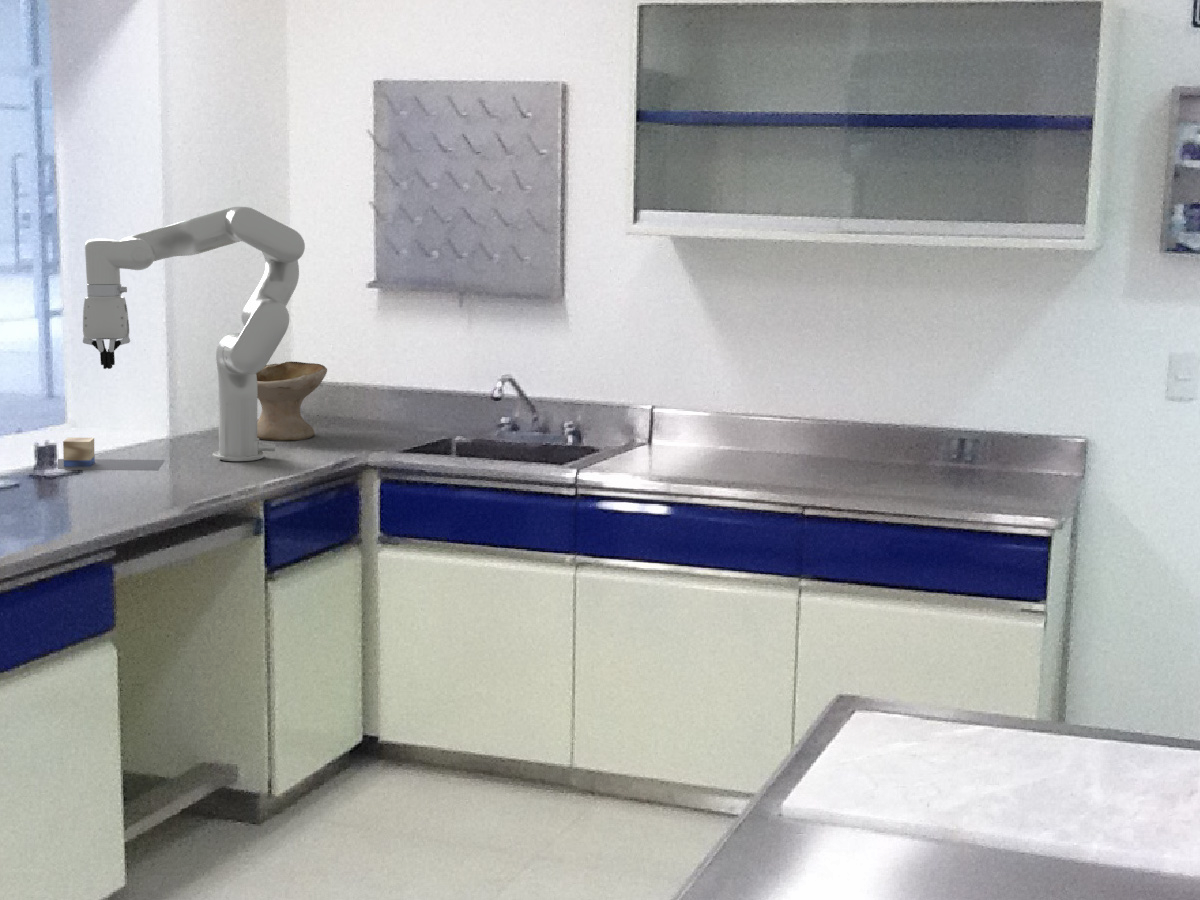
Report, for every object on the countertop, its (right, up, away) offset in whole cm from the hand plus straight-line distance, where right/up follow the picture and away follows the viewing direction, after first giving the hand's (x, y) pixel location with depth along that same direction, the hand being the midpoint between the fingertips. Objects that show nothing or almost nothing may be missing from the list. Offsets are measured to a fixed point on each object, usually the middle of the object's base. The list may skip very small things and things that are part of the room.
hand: (108, 368), depth 333 cm
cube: (-6, -17, -2) cm, 18 cm away
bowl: (+29, -16, +56) cm, 65 cm away
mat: (-1, -24, +1) cm, 24 cm away
